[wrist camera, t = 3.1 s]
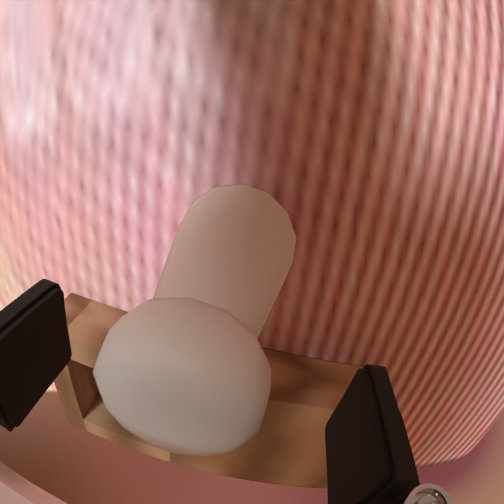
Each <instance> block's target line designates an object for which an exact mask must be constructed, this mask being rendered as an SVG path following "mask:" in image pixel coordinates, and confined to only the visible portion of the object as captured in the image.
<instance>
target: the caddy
mask: <svg viewBox="0 0 504 504" xmlns="http://www.w3.org/2000/svg"><path fill="white" fill-rule="evenodd" d="M64 303H65V311H66V319H67V326H68V333H69V339H70V345H71V351H72V356H71V359H70V361H69V363H68V364H67V365H66V366H65V368H64V369H63V370H62V371H61V373H60V374H59V375H58V376H57V378H56V379H55V380H54V383H55V386H56V389H57V391H58V394H59V397H60V400H61V403H62V405H63V408H64V411H65V413H66V416H67V419H68V421H69V422H70V423H72V424H74V425H76V426H78V427H80V428H82V429H84V430H86V431H89V432H91V433H93V434H95V435H98V436H100V437H103V438H105V439H107V440H110V441H112V442H115V443H117V444H120V445H122V446H125V447H127V448H130V449H133V450H136V451H139V452H141V453H145V454H147V455H150V456H153V457H156V458H159V459H163V460H166V461H169V462H172V463H176V464H179V465H183V466H187V467H190V468H194V469H199V470H202V471H206V472H211V473H215V474H220V475H225V476H229V477H234V478H240V479H245V480H251V481H258V482H265V483H272V484H280V485H288V486H299V487H312V488H327V487H328V486H327V463H326V444H325V427H326V424H327V422H328V420H329V418H330V417H331V415H332V413H333V412H334V410H335V409H336V407H337V405H338V404H339V402H340V400H341V399H342V397H343V395H344V393H345V392H346V390H347V388H348V386H349V385H350V383H351V381H352V379H353V378H354V376H355V374H356V372H357V370H358V369H359V368H362V369H363V368H364V367H363V366H356V365H350V364H343V363H337V362H331V361H325V360H320V359H314V358H309V357H303V356H298V355H293V354H288V353H283V352H278V351H273V350H269V349H264V348H262V350H263V352H264V354H265V356H266V358H267V360H268V363H269V365H270V368H271V389H270V394H269V398H268V403H267V407H266V411H265V415H264V417H263V420H262V423H261V426H260V429H259V432H258V433H256V434H255V435H254V436H253V437H251V438H250V439H249V440H248V441H246V442H245V443H244V444H242V445H241V446H240V447H238V448H236V449H234V450H232V451H230V452H227V453H222V454H216V455H210V456H204V457H203V456H193V455H184V454H176V453H173V452H170V451H167V450H165V449H162V448H159V447H156V446H154V445H151V444H149V443H147V442H145V441H143V440H142V439H140V438H139V437H137V436H136V435H134V434H132V433H131V432H129V431H128V430H126V429H125V428H123V426H122V425H121V424H120V423H119V422H118V421H117V420H116V419H115V418H114V416H113V415H112V414H111V413H110V412H109V411H108V410H107V408H106V406H105V404H104V402H103V399H102V397H101V394H100V392H99V389H98V386H97V383H96V380H95V377H94V375H93V370H94V367H95V364H96V361H97V358H98V355H99V352H100V350H101V347H102V345H103V343H104V340H105V338H106V336H107V334H108V331H109V330H110V329H111V328H112V327H113V325H114V324H115V323H116V322H117V321H118V320H119V319H120V318H121V317H122V316H123V315H125V314H127V313H128V312H126V311H123V310H120V309H117V308H114V307H111V306H108V305H105V304H102V303H99V302H96V301H93V300H90V299H87V298H85V297H82V296H79V295H76V294H74V293H71V294H70V295H69V296H68V297H67V298H66V299H65V300H64Z"/></svg>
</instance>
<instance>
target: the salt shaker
mask: <svg viewBox="0 0 504 504" xmlns="http://www.w3.org/2000/svg"><path fill="white" fill-rule="evenodd" d="M296 240H297V237H296V234H295V232H294V229H293V226H292V223H291V220H290V217H289V215H288V212H287V211H286V210H285V209H284V208H283V207H282V206H281V205H280V204H279V203H278V202H277V201H276V200H275V199H274V198H273V197H272V196H271V195H270V194H269V193H268V192H265V191H262V190H259V189H256V188H253V187H250V186H247V185H243V184H241V185H231V186H221V187H214V188H212V189H211V190H209V191H208V192H207V193H205V194H204V195H202V196H201V197H200V198H198V199H197V200H195V201H194V202H193V203H192V204H191V206H190V208H189V210H188V211H187V213H186V215H185V217H184V219H183V220H182V222H181V224H180V226H179V229H178V232H177V234H176V237H175V239H174V242H173V245H172V247H171V250H170V253H169V255H168V258H167V261H166V263H165V266H164V269H163V272H162V275H161V277H160V280H159V283H158V286H157V289H156V292H155V294H154V297H153V299H151V300H148V301H146V302H145V303H143V304H141V305H140V306H138V307H136V308H135V309H133V310H132V311H130V312H128V313H127V314H125V315H123V316H122V317H121V318H120V319H119V320H118V321H117V322H116V323H115V324H114V325H113V327H112V328H111V329H110V330H109V331H108V334H107V336H106V338H105V340H104V343H103V345H102V347H101V350H100V352H99V355H98V358H97V361H96V364H95V367H94V370H93V375H94V377H95V380H96V383H97V386H98V389H99V392H100V394H101V397H102V399H103V402H104V404H105V406H106V408H107V410H108V411H109V412H110V413H111V414H112V415H113V416H114V418H115V419H116V420H117V421H118V422H119V423H120V424H121V425H122V426H123V428H125V429H126V430H128V431H129V432H131V433H132V434H134V435H136V436H137V437H139V438H140V439H142V440H143V441H145V442H147V443H149V444H151V445H154V446H156V447H159V448H162V449H165V450H167V451H170V452H173V453H176V454H184V455H193V456H203V457H204V456H210V455H216V454H222V453H227V452H230V451H232V450H234V449H236V448H238V447H240V446H241V445H242V444H244V443H245V442H246V441H248V440H249V439H250V438H251V437H253V436H254V435H255V434H256V433H258V432H259V429H260V426H261V423H262V420H263V417H264V415H265V411H266V407H267V403H268V398H269V394H270V389H271V368H270V365H269V363H268V360H267V358H266V356H265V354H264V352H263V350H262V348H261V346H260V344H259V341H258V337H259V335H260V333H261V331H262V329H263V327H264V324H265V322H266V320H267V318H268V316H269V314H270V312H271V309H272V307H273V305H274V303H275V301H276V299H277V296H278V294H279V292H280V290H281V288H282V286H283V283H284V281H285V279H286V277H287V275H288V272H289V270H290V268H291V266H292V263H293V258H294V252H295V246H296Z"/></svg>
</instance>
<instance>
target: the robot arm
mask: <svg viewBox="0 0 504 504" xmlns="http://www.w3.org/2000/svg"><path fill="white" fill-rule="evenodd" d="M71 356H72V351H71V345H70V339H69V333H68V326H67V319H66V311H65V303H64V294H63V291H62V290H61V288H60V286H59V284H57V283H54V282H52V281H49V280H47V279H42V280H40V281H39V282H38V283H36V284H35V285H34V286H32V287H31V288H30V289H28V290H27V291H26V292H24V293H23V294H22V295H20V296H19V297H18V298H17V299H15V300H14V301H13V302H11V303H10V304H9V305H8V306H6V307H5V308H4V309H3V310H1V311H0V425H1V426H3V427H4V428H6V429H7V430H8V431H10V432H11V431H12V430H13V428H14V427H18V426H19V425H20V424H21V423H22V422H23V420H24V419H25V418H26V416H27V415H28V414H29V412H30V411H31V409H32V408H33V407H34V406H35V404H36V403H37V402H38V400H39V399H40V398H41V397H42V395H43V394H44V393H45V391H46V390H47V389H48V388H49V386H50V385H51V384H52V383H53V381H54V380H55V379H56V378H57V376H58V375H59V374H60V373H61V371H62V370H63V369H64V368H65V366H66V365H67V364H68V363H69V361H70V359H71ZM325 444H326V463H327V486H328V504H451V501H450V498H449V496H448V494H447V493H446V492H445V491H444V490H443V489H442V488H441V487H439V486H437V485H434V484H422V485H420V483H419V479H418V475H417V470H416V466H415V462H414V458H413V454H412V451H411V447H410V443H409V439H408V436H407V432H406V429H405V425H404V422H403V418H402V415H401V413H400V412H399V409H398V405H397V402H396V399H395V395H394V392H393V389H392V386H391V383H390V380H389V377H388V374H387V371H386V368H385V367H382V366H375V365H366V366H364V368H363V369H362V368H359V369H358V370H357V372H356V374H355V376H354V378H353V379H352V381H351V383H350V385H349V386H348V388H347V390H346V392H345V393H344V395H343V397H342V399H341V400H340V402H339V404H338V405H337V407H336V409H335V410H334V412H333V413H332V415H331V417H330V418H329V420H328V422H327V424H326V427H325ZM0 504H67V503H65V502H63V501H61V500H60V499H58V498H56V497H54V496H53V495H51V494H49V493H47V492H46V491H44V490H42V489H40V488H39V487H37V486H35V485H34V484H32V483H31V482H29V481H27V480H26V479H24V478H23V477H21V476H20V475H18V474H17V473H15V472H14V471H12V470H11V469H10V468H8V467H7V466H5V465H4V464H3V463H1V462H0Z"/></svg>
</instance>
